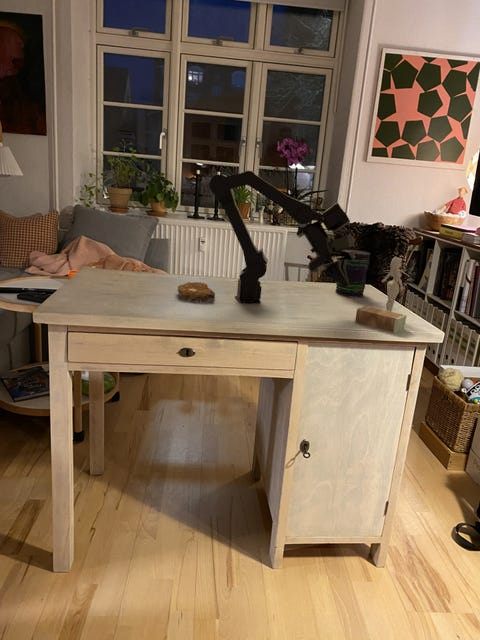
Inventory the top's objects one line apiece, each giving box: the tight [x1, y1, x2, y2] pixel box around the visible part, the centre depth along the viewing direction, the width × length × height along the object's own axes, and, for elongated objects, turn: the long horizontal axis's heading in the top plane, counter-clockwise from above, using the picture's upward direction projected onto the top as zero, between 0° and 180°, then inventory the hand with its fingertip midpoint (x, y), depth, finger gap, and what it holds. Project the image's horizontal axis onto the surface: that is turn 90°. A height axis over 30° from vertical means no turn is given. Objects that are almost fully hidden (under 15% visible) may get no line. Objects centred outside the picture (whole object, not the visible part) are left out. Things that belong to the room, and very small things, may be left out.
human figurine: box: [381, 256, 406, 312], centre depth 149 cm, size 12×4×18 cm, turn 12°
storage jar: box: [335, 248, 371, 298], centre depth 175 cm, size 10×10×15 cm
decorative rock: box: [177, 281, 216, 303], centre depth 154 cm, size 11×4×15 cm
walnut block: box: [354, 305, 407, 334], centre depth 140 cm, size 4×6×12 cm
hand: (347, 285), depth 144 cm, fingers closed
